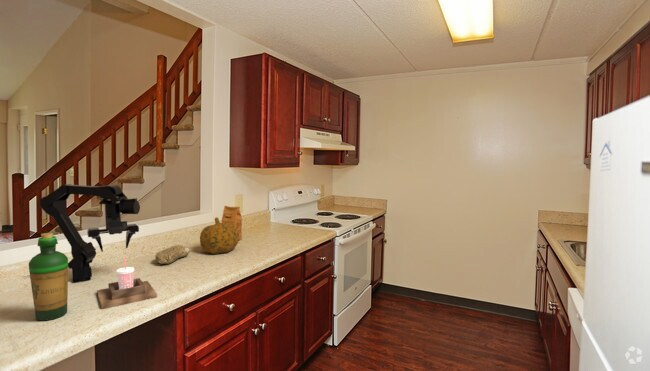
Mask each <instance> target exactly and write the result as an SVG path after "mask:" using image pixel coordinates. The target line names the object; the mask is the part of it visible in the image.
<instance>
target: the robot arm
mask: <svg viewBox="0 0 650 371" xmlns="http://www.w3.org/2000/svg"><path fill="white" fill-rule="evenodd" d="M70 195H81V196H83V195H84V196H95V197H98V198H101V199H102V200H101V201H99V203H98V204H99V205H104V215H105V216H104V219H105V228H101V229H100V228H99V227H90V228H87V231H86V232H87V238H91V239H93V240H96V242H97V245H98V246H99V249H100V251H101V253H103V252H104V250H103V244H102V243H103V242H102V238H101V236H100V234H101V235H102V234H109V235H116V234H118V235H119V234H122V233H123V232H126V233H125V234H126V235H125V248H126V249H128V247H129V244H130V241H131V239H132V237H133V235H136V233H139V232H140V227H139V225H137V223H130V224H128V221H127V220H123V221H122V215H138V214H139V213H140V212H141V205H140V202H139V201H138V198H136V197H135V198H128V197H127V196H126V195H125V193H124V192H123V191H122V187H121V186H120V185H118V184H110V185H109V184H108V185H101V186H99V185H98V186H97V185H96V186H94V185H80V184H70V183H67V184H61V185H60V186H59V187H58V188H56V189H55V190H54V191H51V192H50V193H48V194H47V195H46V196H43V197H41V198H40V199H39V200H40V201H39V203H38V204H39V207H40V209H41V210H42V211H43V212H44V213H45V214H47V215H48V216H50V217H51V218H53V220H54V221H55V223H56V225H57V226H58V227H59V229H60V231H61V233H62V234H63V235H64V237H65V239H66V240H67V242H68V244H69V245H70V247H71V249H70V250H71V251H70V252H71V256H72V259H70V261H68V270H69V269H71V273H72V274H71V276H72V278H71V282H72V283H80V282H86V281H90V280H92V277H93V273H92V271H93V270H92V266H91V265H90V264H92V263H93V261H94V259H95V258H96V255H97V251H96V250H97V249H96V247H95V246H94V245H93V243H92V242H91V241H89V242H87V241H85V240H84V238H82V236H81V233H79V231H78V229H77V227H76V226H75V225H74V222H73V221H72V219H71V218H70V216H69V214H68V213H67V205H66V201H67V200H68V199H69V197H70ZM121 214H122V215H121Z"/></svg>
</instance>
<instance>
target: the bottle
mask: <svg viewBox="0 0 650 371" xmlns="http://www.w3.org/2000/svg"><path fill="white" fill-rule="evenodd" d="M40 235H41V236H40V237H39V238H38V241H37V246H36V247H39V250H40V252H39V253H37V254H35V255H34V256H32V257H31V259H30V260H29V262H28V273H29V277H30V278H29V279H30V285H31V291H32V292H31V293H32V300H33V307H34V315H35V320H38V321H51V320H52V321H53V320H54V319H55V320H56V319H58V318H61V317H63V316H65V315H66V313H68V294H69V293H68V292H69V291H68V290H69V289H68V285H69V284H68V283H69V281H68V280H69V279H68V278H69V267H68V263H69V257H68V256H67V255H66V254H65V253H63V252H61V251H58V250H56V248H57V245H58V244H59V243H58V240H57V236H55V235H54V232H45V233H41V234H40Z"/></svg>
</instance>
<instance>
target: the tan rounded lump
mask: <svg viewBox="0 0 650 371" xmlns="http://www.w3.org/2000/svg"><path fill="white" fill-rule="evenodd" d="M190 252H191V250H190V249H189V248H188V247H186V246H185V245H181V244H180V245H179V244H177V245H172V246H170V247H167V248H164V249H163V250H161V251H159V252H158V251H157V253H156V254H155V255H154V256H155V261H157V263H158V264H161V265H169V264H172V263H174V262H175V261H176V260H178V259H180V258H184V257H187V256H189V254H190Z"/></svg>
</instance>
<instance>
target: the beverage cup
mask: <svg viewBox="0 0 650 371" xmlns="http://www.w3.org/2000/svg"><path fill="white" fill-rule="evenodd" d="M126 258H127V257H126V256H124V260H123V262H124V267H120V268H117V269H116V274H117V282H118V283H119V290H120V289H125V288H130V287H133V279H135V278H134V277H135V276H134V275H135V274H134V273H135V267H133V266H127V259H126Z"/></svg>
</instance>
